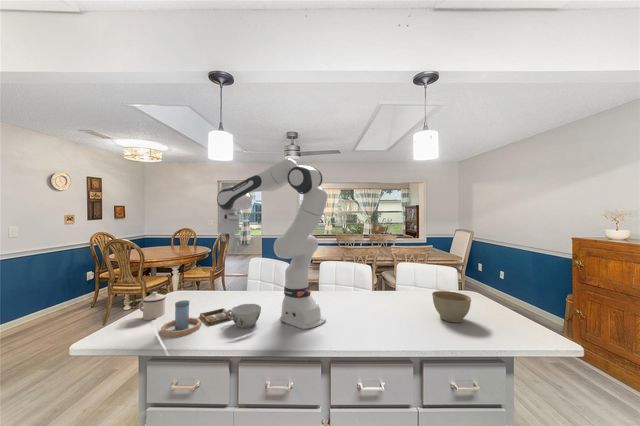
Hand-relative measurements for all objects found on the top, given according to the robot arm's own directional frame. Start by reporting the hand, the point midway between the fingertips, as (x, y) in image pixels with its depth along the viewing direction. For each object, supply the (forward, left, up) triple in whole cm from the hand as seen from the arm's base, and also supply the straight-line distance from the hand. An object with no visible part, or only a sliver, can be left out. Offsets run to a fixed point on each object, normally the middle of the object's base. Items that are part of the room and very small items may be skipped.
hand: (227, 242), depth 132 cm
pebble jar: (-16, +25, -34) cm, 45 cm away
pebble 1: (-18, +13, -33) cm, 40 cm away
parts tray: (-14, +10, -34) cm, 38 cm away
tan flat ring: (-16, +25, -34) cm, 45 cm away
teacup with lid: (+10, +32, -34) cm, 48 cm away
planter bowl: (-86, -72, -34) cm, 117 cm away
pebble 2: (-18, +9, -33) cm, 39 cm away
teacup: (-29, +4, -34) cm, 45 cm away
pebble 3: (-15, +7, -33) cm, 37 cm away
